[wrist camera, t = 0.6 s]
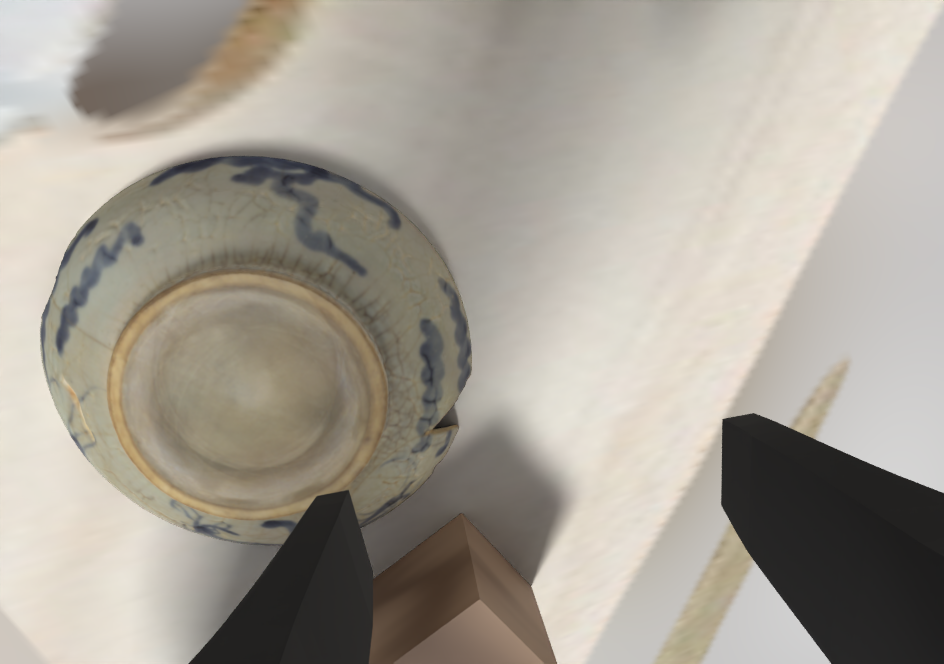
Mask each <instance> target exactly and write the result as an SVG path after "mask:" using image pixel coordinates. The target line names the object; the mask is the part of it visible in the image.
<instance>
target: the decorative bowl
mask: <svg viewBox="0 0 944 664" xmlns="http://www.w3.org/2000/svg"><path fill="white" fill-rule="evenodd" d="M40 342H41V345H40V348H41V357H42V364H43V369H44V373H45V376H46V381H47V384H48V387H49V391H50V393H51V396H52V398H53V401H54V404H55V406H56V409H57V411H58V413H59V415H60V417H61V419H62V421H63V423H64V425H65V426H66V428H67V430H68V432H69V434H70V436H71V437H72V439H73V440H74V441H75V443H76V445H77V446H78V448H79V449H80V450H81V452H82V453H83V454H84V456H85V457H86V458H87V460H88V461H89V462H90V463H91V464H92V465H93V467H94V468H95V469H96V470H97V471H98V472H99V473H100V474H101V475H102V476H103V477H104V478H105V479H106V480H107V481H108V482H109V483H111V484H112V485H113V486H114V487H115V488H116V489H117V490H119V491H120V492H121V493H122V494H124V495H125V496H126V497H127V498H129V499H130V500H132V501H133V502H134V503H136V504H137V505H139V506H140V507H142V508H143V509H145V510H147V511H148V512H150V513H152V514H154V515H155V516H157V517H159V518H161V519H163V520H165V521H167V522H169V523H171V524H174V525H176V526H178V527H181V528H184V529H186V530H189V531H192V532H195V533H198V534H201V535H204V536H208V537H212V538H216V539H220V540H225V541H231V542H237V543H242V544H254V545H283V544H284V542H285V541H286V539H287V538H288V536H289V535H290V534H291V532H292V531H293V529H294V528H295V526H296V525H297V523H298V522H299V520H300V519H301V517H302V516H303V514H304V513H305V512H306V510H307V509H308V507H309V506H310V504H311V503H312V502H313V500H314V499H315V498H316V496H319V495H324V494H330V493H335V492H340V491H345V490H349V492H350V496H351V499H352V503H353V506H354V509H355V513H356V516H357V520H358V523H359V527H360V528H362V527H364V526H366V525H368V524H370V523H372V522H374V521H375V520H377V519H379V518H381V517H383V516H384V515H386V514H387V513H389V512H390V511H392V510H393V509H394V508H396V507H397V506H399V505H400V504H401V503H403V502H404V501H405V500H406V499H407V498H409V497H410V496H411V495H412V494H414V493H415V492H416V491H417V490H418V489H419V488H420V486H421V485H423V484H424V482H425V481H426V480H427V479H428V478H429V477H430V476H431V474H432V473H433V470H434V468H435V466H436V465H437V464H438V463H440V462H441V460H442V459H443V458H444V456H445V455H446V453H447V451H448V449H449V448H450V446H451V444H452V442H453V440H454V438H455V436H456V434H457V431H458V429H459V426H458V425H452V426H449V427H444V428H438V429H433V428H434V427H435V426H436V425H437V424H438V423H439V422H440V421H441V419H442V418H443V417H444V416H445V415H446V414H447V413H448V411H449V410H450V409H451V408H452V407H453V406H454V404H455V402H456V401H457V399H458V397H459V395H460V393H461V391H462V389H463V388H464V387H465V384H466V381H467V379H468V378H469V377H470V375H471V370H472V367H471V363H472V352H471V340H470V333H469V327H468V321H467V317H466V313H465V310H464V306H463V303H462V300H461V297H460V294H459V292H458V289H457V287H456V285H455V283H454V280H453V278H452V276H451V274H450V272H449V271H448V269H447V267H446V265H445V263H444V262H443V260H442V259H441V257H440V256H439V254H438V253H437V251H436V250H435V249H434V247H433V246H432V245H431V243H430V242H429V241H428V240H427V239H426V237H425V236H424V235H423V234H422V233H421V232H420V231H419V230H418V228H417V227H416V226H415V225H414V224H413V223H412V222H411V221H410V220H408V219H407V218H406V217H405V216H404V215H403V214H402V213H401V212H399V211H398V210H397V209H396V208H394V207H393V206H392V205H390V204H389V203H388V202H386V201H385V200H383V199H382V198H380V197H379V196H377V195H376V194H374V193H372V192H371V191H369V190H367V189H366V188H364V187H362V186H360V185H358V184H356V183H354V182H352V181H350V180H348V179H346V178H344V177H341V176H339V175H337V174H334V173H332V172H329V171H326V170H324V169H321V168H318V167H315V166H311V165H307V164H303V163H299V162H295V161H291V160H285V159H278V158H270V157H259V156H231V157H218V158H209V159H204V160H199V161H194V162H189V163H185V164H182V165H178V166H175V167H172V168H168V169H165V170H163V171H160V172H158V173H155V174H152V175H150V176H148V177H146V178H144V179H142V180H140V181H139V182H136V183H135V184H133V185H131V186H129V187H128V188H126V189H124V190H123V191H121V192H120V193H119V194H117V195H116V196H114V197H113V198H111V199H110V200H109V201H108V202H107V203H105V204H104V205H103V206H102V207H101V208H100V209H99V210H97V211H96V212H95V213H94V214H93V215H92V216H91V217H90V218H89V219H88V220H87V221H86V222H85V224H84V225H83V226H82V227H81V228H80V229H79V231H78V232H77V233H76V236H75V238H74V239H73V240H72V241H71V243H70V244H69V246H68V248H67V250H66V252H65V254H64V258H63V260H62V262H61V265H60V267H59V271H58V275H57V276H56V282H55V285H54V288H53V290H52V294H51V296H50V298H49V301H48V303H47V305H46V307H45V310H44V312H43V315H42V322H41V329H40Z"/></svg>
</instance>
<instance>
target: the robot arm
mask: <svg viewBox="0 0 944 664" xmlns="http://www.w3.org/2000/svg"><path fill="white" fill-rule="evenodd" d="M721 497H722V498H721V505H722V507H723V509H724V511H725V512H726V514H727V516H728V518H729V520H730V522H731V524H732V525H733V527H734V529H735V531H736V533H737V534H738V536H739V538H740V539H741V541H742V543H743V544H744V546H745V548H746V550H747V551H748V553H749V554H750V556H751V557H752V558H753V560H754V561H755V562H756V564H757V565H758V566H759V568H760V569H761V571H762V572H763V573H764V575H765V576H766V577H767V579H768V580H769V581H770V583H771V584H772V585H773V587H774V588H775V589H776V591H777V592H778V593H779V595H780V596H781V597H782V599H783V600H784V601H785V603H786V604H787V605H788V607H789V608H790V609H791V611H792V612H793V613H794V615H795V616H796V617H797V619H798V620H799V621H800V622H801V624H802V625H803V626H804V628H805V629H806V630H807V632H808V633H809V634H810V636H811V637H812V638H813V640H814V641H815V642H816V644H817V645H818V646H819V648H820V649H821V650H822V652H823V653H824V654H825V656H826V657H827V658H828V659H829V661H830V662H831V664H944V493H942V492H939V491H937V490H934V489H931V488H929V487H926V486H924V485H921V484H919V483H916V482H914V481H911V480H908V479H906V478H903V477H901V476H898V475H896V474H893V473H891V472H888V471H886V470H884V469H881V468H879V467H876V466H874V465H872V464H869V463H867V462H865V461H862V460H860V459H858V458H855V457H853V456H851V455H848V454H846V453H844V452H842V451H840V450H837V449H835V448H833V447H830V446H828V445H826V444H824V443H822V442H819V441H817V440H815V439H813V438H811V437H808V436H806V435H804V434H802V433H800V432H797V431H795V430H793V429H791V428H788V427H786V426H784V425H781V424H779V423H777V422H775V421H772V420H770V419H767V418H765V417H762V416H760V415H757V414H754V413H753V414H747V415H742V416H736V417H731V418H726V419H723V422H722V496H721ZM372 629H373V571H372V568H371V564H370V561H369V558H368V554H367V551H366V547H365V544H364V540H363V537H362V533H361V530H360V527H359V523H358V520H357V516H356V513H355V509H354V506H353V503H352V499H351V496H350V492H349V490H345V491H340V492H335V493H330V494H324V495H319V496H316V498H315V499H314V500H313V502H312V503H311V504H310V506H309V507H308V509H307V510H306V512H305V513H304V514H303V516H302V517H301V519H300V520H299V522H298V523H297V525H296V526H295V528H294V529H293V531H292V532H291V534H290V535H289V536H288V538H287V539H286V541H285V542H284V544H283V545H282V547H281V548H280V550H279V551H278V552H277V554H276V555H275V557H274V558H273V559H272V561H271V562H270V564H269V565H268V566H267V568H266V569H265V570H264V572H263V573H262V575H261V576H260V577H259V579H258V580H257V582H256V583H255V584H254V586H253V587H252V588H251V590H250V591H249V592H248V594H247V595H246V596H245V597H244V599H243V600H242V601H241V602H240V604H239V605H238V606H237V607H236V609H235V610H234V611H233V612H232V614H231V615H230V616H229V618H228V619H227V620H226V621H225V623H224V624H223V625H222V626H221V628H220V629H219V630H218V631H217V632H216V633H215V635H214V636H213V637H212V638H211V639H210V640H209V642H208V643H207V644H206V645H205V646H204V647H203V648H202V650H201V651H200V652H199V653H198V654H197V655H196V656H195V657H194V658H193V659H192V661H191V662H190V663H189V664H369V656H370V648H371V639H372Z"/></svg>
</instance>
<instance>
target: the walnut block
mask: <svg viewBox="0 0 944 664" xmlns="http://www.w3.org/2000/svg"><path fill="white" fill-rule="evenodd" d="M369 664H557V662H556V659H555V656H554V653H553V650H552V647H551V644H550V641H549V638H548V635H547V632H546V629H545V626H544V623H543V620H542V617H541V614H540V611H539V608H538V605H537V602H536V599H535V596H534V593H533V590H532V587H531V586H530V585H529V584H528V582H527V581H526V580H525V579H524V578H523V577H522V576H521V575H520V574H519V573H518V572H517V571H516V570H515V569H514V568H513V567H512V566H511V565H510V563H509V562H508V561H507V560H506V559H505V558H504V557H503V556H502V555H501V554H500V553H499V552H498V551H497V550H496V549H495V548H494V547H493V545H492V544H491V543H490V542H489V541H488V540H487V539H486V538H485V537H484V536H483V535H482V534H481V533H480V532H479V531H478V530H477V529H476V528H475V526H474V525H473V524H472V523H471V522H470V521H469V520H468V519H467V518H466V517H465V516H464V515H463V514H462V513H461V514H460V515H458V516H457V517H456V518H454V519H453V520H452V521H450V522H449V523H448V524H446V525H445V526H444V527H442V528H441V529H440V530H438V531H437V532H436V533H434V534H433V535H432V536H430V537H429V538H428V539H426V540H425V541H424V542H422V543H421V544H420V545H418V546H417V547H416V548H414V549H413V550H412V551H410V552H409V553H408V554H406V555H405V556H404V557H402V558H401V559H400V560H398V561H397V562H396V563H394V564H393V565H392V566H390V567H389V568H388V569H386V570H385V571H384V572H382V573H381V574H380V575H378V576H377V577H376V578H374V579H373V629H372V639H371V648H370V656H369Z"/></svg>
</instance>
